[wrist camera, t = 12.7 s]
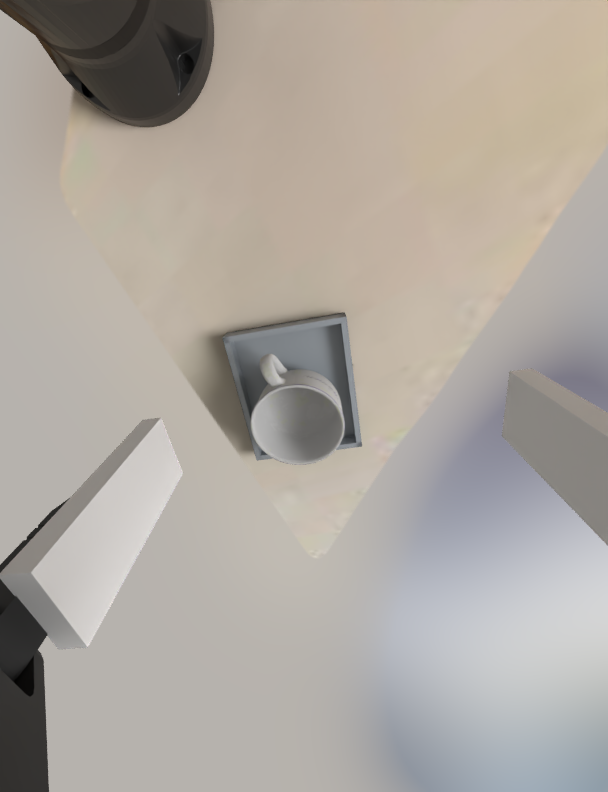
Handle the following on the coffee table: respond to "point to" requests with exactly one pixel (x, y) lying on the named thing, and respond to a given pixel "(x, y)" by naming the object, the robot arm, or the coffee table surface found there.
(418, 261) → the coffee table surface
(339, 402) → the teacup
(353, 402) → the tray
